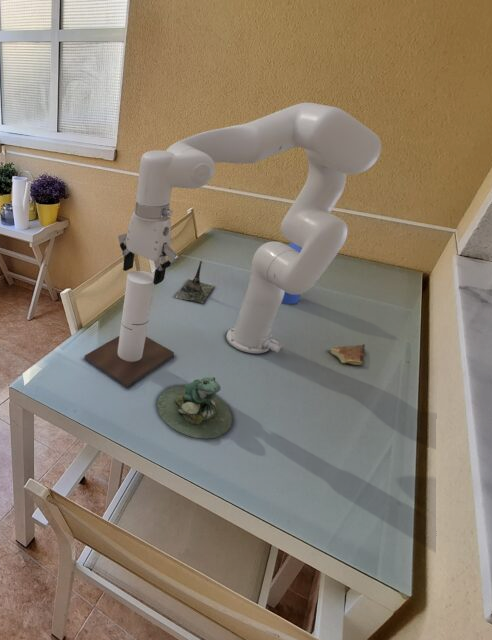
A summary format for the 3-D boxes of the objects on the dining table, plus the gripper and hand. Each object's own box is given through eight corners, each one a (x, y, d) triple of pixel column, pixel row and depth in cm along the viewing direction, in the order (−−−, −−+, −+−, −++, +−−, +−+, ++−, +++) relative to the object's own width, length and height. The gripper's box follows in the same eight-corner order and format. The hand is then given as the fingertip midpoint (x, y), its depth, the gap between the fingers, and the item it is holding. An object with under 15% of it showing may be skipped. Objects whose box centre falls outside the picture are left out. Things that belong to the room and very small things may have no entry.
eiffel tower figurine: (203, 305, 146) (212, 270, 138) (174, 297, 150) (181, 263, 142) (214, 287, 156) (223, 254, 148) (187, 280, 160) (194, 247, 152)
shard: (362, 348, 125) (364, 343, 124) (381, 364, 119) (384, 359, 118) (328, 351, 124) (331, 346, 123) (346, 367, 118) (349, 362, 117)
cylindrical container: (142, 363, 118) (156, 285, 103) (116, 359, 119) (126, 282, 104) (142, 347, 123) (155, 272, 109) (118, 345, 125) (127, 269, 110)
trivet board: (173, 356, 123) (174, 352, 122) (126, 388, 112) (127, 384, 111) (131, 332, 132) (131, 328, 132) (84, 359, 121) (84, 355, 121)
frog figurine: (188, 448, 95) (199, 413, 88) (143, 397, 109) (150, 363, 102) (247, 424, 101) (262, 389, 94) (197, 379, 114) (207, 345, 107)
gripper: (193, 215, 93) (180, 283, 103) (132, 197, 103) (126, 260, 114) (173, 223, 89) (161, 293, 99) (112, 204, 100) (107, 268, 110)
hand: (142, 275), depth 106 cm, fingers open, 9 cm apart
